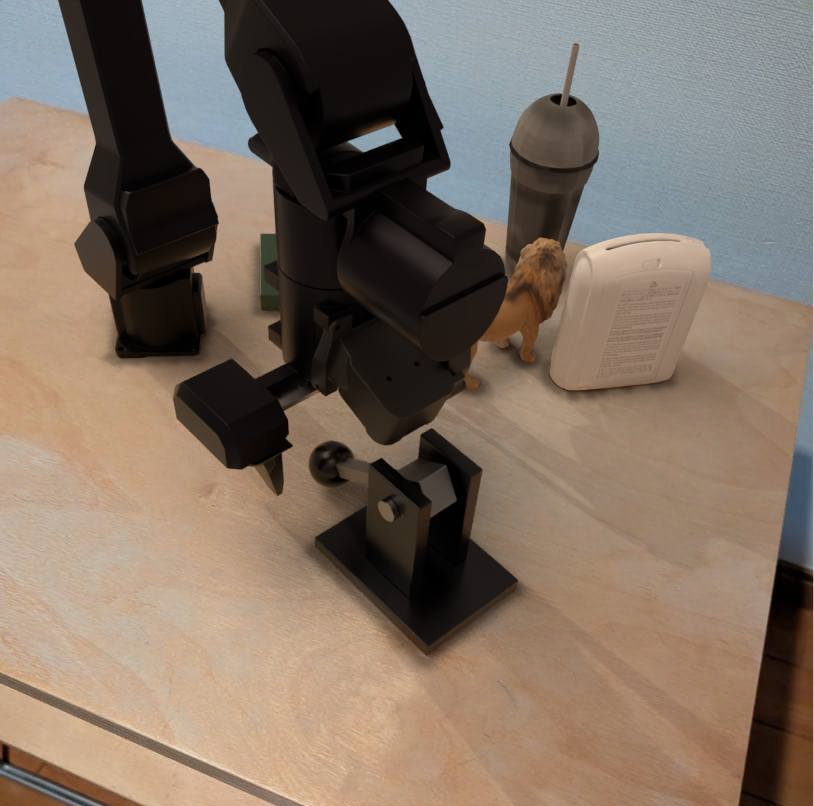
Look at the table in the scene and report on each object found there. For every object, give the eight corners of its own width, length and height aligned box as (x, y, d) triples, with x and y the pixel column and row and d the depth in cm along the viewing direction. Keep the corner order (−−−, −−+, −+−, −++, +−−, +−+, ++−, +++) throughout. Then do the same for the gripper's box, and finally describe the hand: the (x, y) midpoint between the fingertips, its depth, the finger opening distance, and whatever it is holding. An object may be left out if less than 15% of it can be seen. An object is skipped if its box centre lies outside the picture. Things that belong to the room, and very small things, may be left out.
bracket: (314, 548, 61) (312, 443, 53) (404, 492, 64) (413, 387, 57) (425, 657, 56) (440, 560, 48) (515, 590, 59) (542, 490, 52)
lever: (308, 492, 63) (293, 450, 61) (345, 471, 64) (330, 430, 63) (425, 528, 53) (410, 480, 51) (465, 502, 54) (451, 454, 53)
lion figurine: (519, 312, 78) (537, 218, 71) (566, 343, 76) (590, 249, 69) (395, 386, 71) (401, 289, 64) (443, 422, 69) (455, 325, 62)
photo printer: (657, 350, 76) (704, 216, 66) (678, 384, 73) (730, 250, 64) (541, 362, 74) (572, 226, 65) (558, 398, 72) (593, 262, 62)
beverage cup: (569, 253, 84) (623, 22, 69) (570, 300, 80) (628, 64, 64) (491, 244, 84) (527, 11, 69) (488, 291, 80) (525, 53, 64)
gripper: (280, 413, 41) (292, 608, 54) (555, 269, 50) (512, 465, 62) (148, 294, 46) (187, 497, 58) (419, 181, 55) (403, 379, 67)
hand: (330, 459), depth 61 cm, fingers open, 9 cm apart
